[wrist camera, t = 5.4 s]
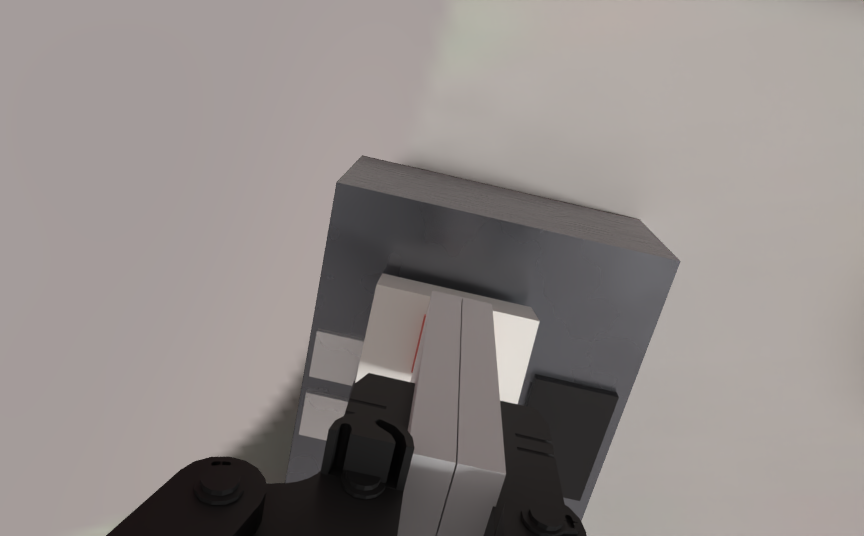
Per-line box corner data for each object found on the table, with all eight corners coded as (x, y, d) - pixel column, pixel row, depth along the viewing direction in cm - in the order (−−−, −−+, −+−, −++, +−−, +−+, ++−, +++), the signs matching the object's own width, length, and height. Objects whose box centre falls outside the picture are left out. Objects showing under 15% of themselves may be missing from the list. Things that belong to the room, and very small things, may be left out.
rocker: (321, 550, 20) (310, 587, 18) (382, 273, 18) (376, 285, 16) (459, 579, 20) (461, 620, 18) (531, 307, 18) (540, 322, 16)
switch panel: (267, 674, 31) (227, 799, 26) (362, 155, 22) (329, 189, 17) (466, 716, 31) (465, 848, 26) (639, 219, 22) (690, 272, 17)
